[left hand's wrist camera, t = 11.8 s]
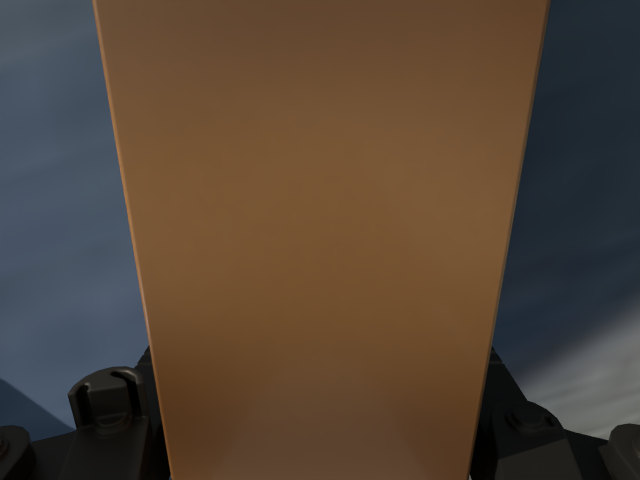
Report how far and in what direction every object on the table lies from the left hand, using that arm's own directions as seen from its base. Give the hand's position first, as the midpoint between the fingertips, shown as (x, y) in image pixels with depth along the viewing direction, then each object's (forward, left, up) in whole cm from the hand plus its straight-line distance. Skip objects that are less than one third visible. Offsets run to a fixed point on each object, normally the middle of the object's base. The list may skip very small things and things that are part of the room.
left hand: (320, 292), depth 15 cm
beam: (+11, +32, -1) cm, 34 cm away
